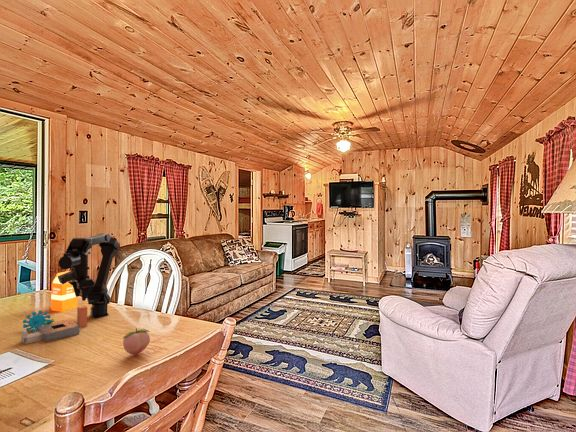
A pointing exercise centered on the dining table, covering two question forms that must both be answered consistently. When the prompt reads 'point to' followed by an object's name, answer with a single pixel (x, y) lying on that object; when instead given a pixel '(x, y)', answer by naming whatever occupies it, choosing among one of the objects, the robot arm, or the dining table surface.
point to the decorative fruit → (136, 341)
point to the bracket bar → (31, 337)
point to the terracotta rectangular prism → (82, 316)
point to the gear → (37, 321)
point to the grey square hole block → (58, 330)
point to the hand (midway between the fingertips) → (80, 298)
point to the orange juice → (62, 295)
